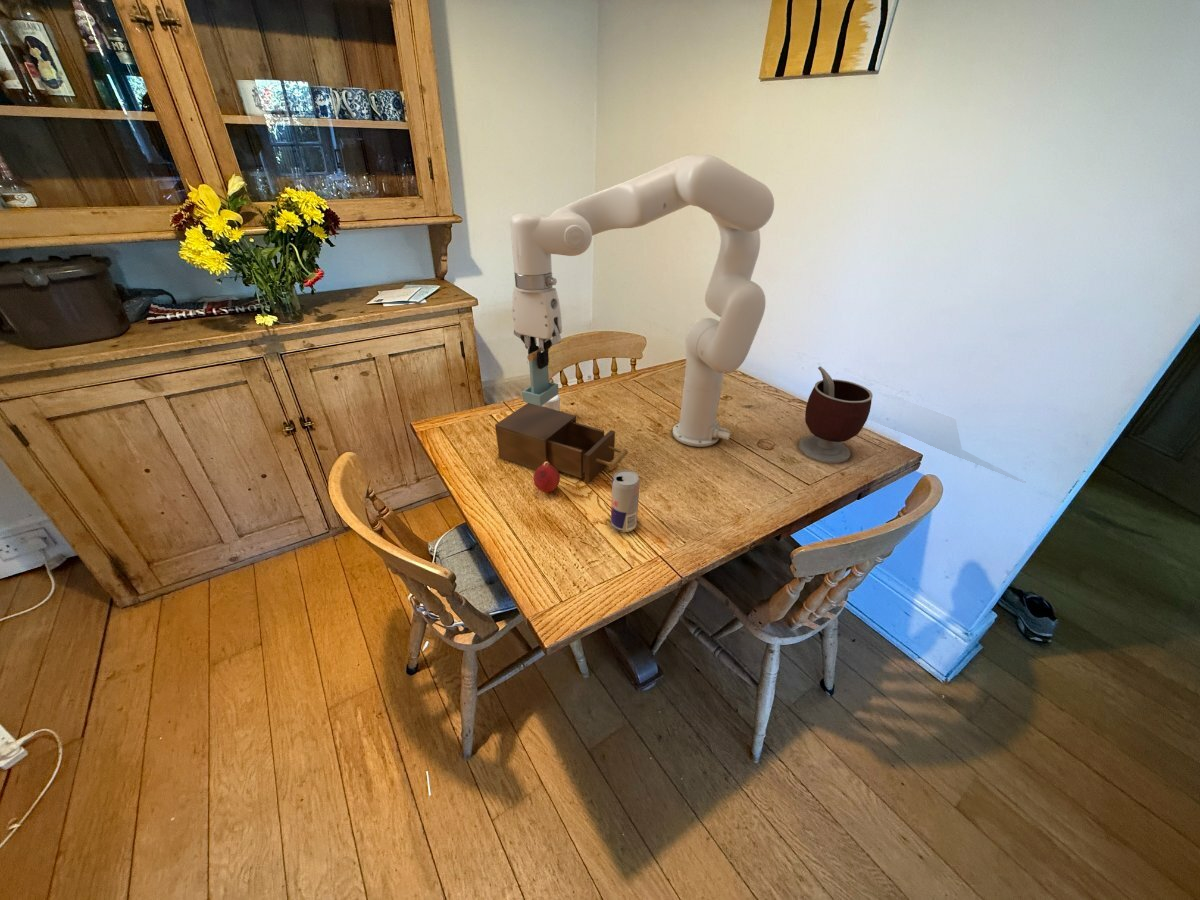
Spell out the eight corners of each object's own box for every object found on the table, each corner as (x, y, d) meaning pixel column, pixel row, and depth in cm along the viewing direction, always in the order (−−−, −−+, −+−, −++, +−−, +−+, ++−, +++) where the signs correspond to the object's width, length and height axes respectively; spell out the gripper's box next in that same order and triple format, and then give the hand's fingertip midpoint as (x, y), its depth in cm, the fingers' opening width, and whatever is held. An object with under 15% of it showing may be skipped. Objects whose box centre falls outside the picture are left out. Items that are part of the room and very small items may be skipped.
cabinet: (577, 448, 120) (576, 415, 114) (547, 474, 110) (545, 440, 104) (531, 433, 126) (528, 402, 120) (499, 457, 115) (494, 424, 110)
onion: (549, 502, 101) (547, 473, 96) (529, 494, 103) (526, 464, 99) (565, 489, 105) (564, 460, 101) (545, 480, 107) (543, 452, 103)
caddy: (558, 393, 110) (556, 347, 103) (540, 406, 104) (537, 357, 98) (541, 389, 112) (538, 343, 105) (522, 401, 106) (518, 353, 100)
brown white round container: (557, 425, 130) (556, 403, 126) (534, 422, 131) (532, 400, 127) (563, 414, 135) (563, 392, 131) (541, 411, 136) (540, 390, 133)
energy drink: (609, 516, 97) (610, 470, 91) (634, 515, 98) (637, 468, 91) (612, 533, 93) (613, 486, 86) (638, 532, 93) (642, 485, 87)
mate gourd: (865, 458, 117) (893, 386, 106) (823, 469, 112) (848, 395, 101) (819, 429, 129) (840, 362, 118) (780, 439, 124) (798, 370, 113)
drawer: (632, 463, 112) (633, 436, 108) (608, 490, 103) (608, 462, 99) (568, 443, 120) (567, 417, 115) (540, 467, 110) (538, 439, 106)
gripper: (576, 282, 93) (577, 367, 103) (514, 273, 100) (520, 354, 110) (555, 290, 88) (559, 379, 98) (491, 280, 94) (500, 364, 104)
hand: (538, 365), depth 104 cm, fingers closed on caddy
